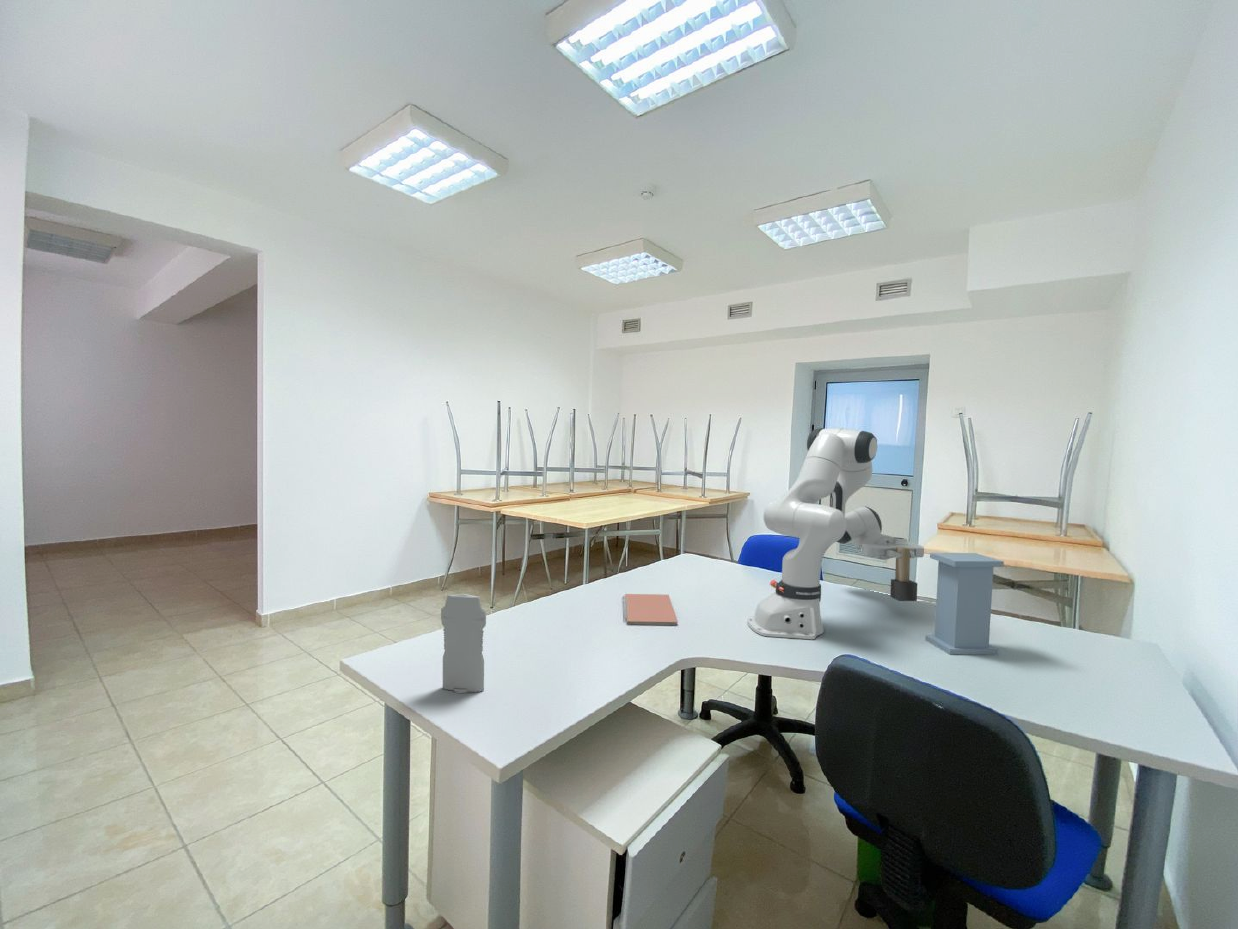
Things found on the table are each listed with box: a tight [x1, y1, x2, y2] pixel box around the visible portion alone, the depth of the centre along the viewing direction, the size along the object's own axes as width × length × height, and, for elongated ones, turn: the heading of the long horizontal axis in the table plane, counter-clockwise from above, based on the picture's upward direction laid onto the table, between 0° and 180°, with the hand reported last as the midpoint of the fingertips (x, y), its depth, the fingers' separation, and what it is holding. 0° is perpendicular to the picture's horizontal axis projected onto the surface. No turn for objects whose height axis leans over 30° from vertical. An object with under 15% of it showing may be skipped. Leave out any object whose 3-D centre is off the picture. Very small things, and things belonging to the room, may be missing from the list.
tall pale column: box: [440, 593, 487, 694], centre depth 114 cm, size 11×4×22 cm, turn 83°
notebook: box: [621, 593, 679, 626], centre depth 169 cm, size 27×17×2 cm, turn 0°
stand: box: [924, 552, 1005, 656], centre depth 143 cm, size 14×10×26 cm
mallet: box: [889, 547, 918, 602], centre depth 169 cm, size 6×17×5 cm
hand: (906, 555), depth 169 cm, fingers closed on mallet, 3 cm apart
